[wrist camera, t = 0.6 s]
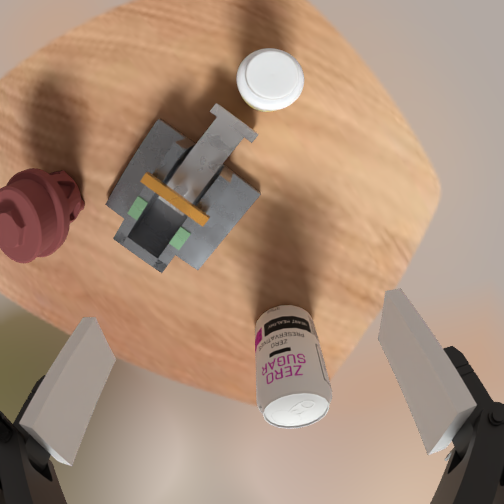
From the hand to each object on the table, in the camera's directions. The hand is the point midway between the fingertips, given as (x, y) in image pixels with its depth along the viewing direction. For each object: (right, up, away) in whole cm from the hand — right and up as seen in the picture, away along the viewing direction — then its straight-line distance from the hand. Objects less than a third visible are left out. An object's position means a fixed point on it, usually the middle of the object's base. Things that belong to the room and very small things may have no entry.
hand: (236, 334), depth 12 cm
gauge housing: (-8, +10, +21) cm, 24 cm away
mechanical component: (-23, +11, +20) cm, 33 cm away
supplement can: (+5, -7, +29) cm, 30 cm away
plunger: (-4, +13, +18) cm, 23 cm away
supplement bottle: (+2, +21, +16) cm, 26 cm away
